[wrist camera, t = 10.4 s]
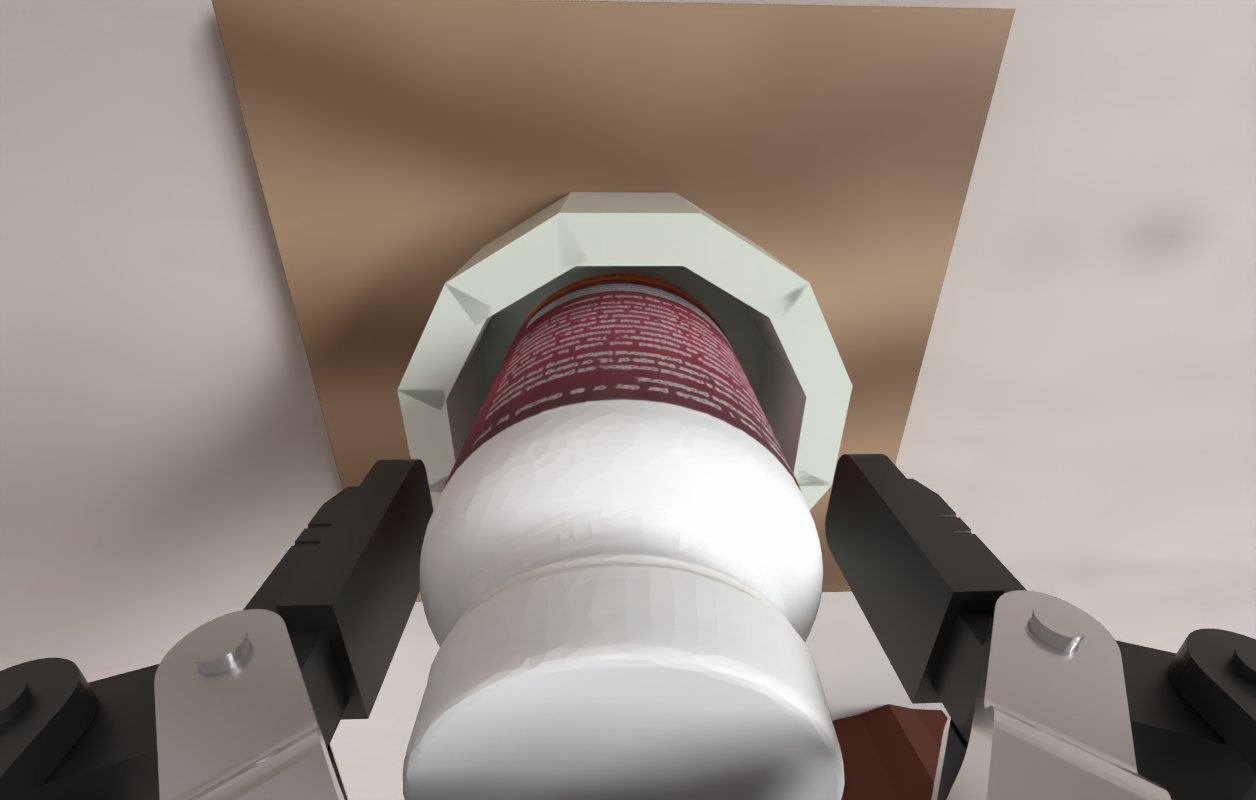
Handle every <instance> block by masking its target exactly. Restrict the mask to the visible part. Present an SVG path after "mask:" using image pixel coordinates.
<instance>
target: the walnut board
mask: <svg viewBox="0 0 1256 800" xmlns="http://www.w3.org/2000/svg"><path fill="white" fill-rule="evenodd" d="M212 4H213V7H214V11H215V15H216V18H217V22H218V26H219V30H220V33H221V37H222V41H223V44H224V48H225V52H226V56H227V59H228V63H229V67H230V70H231V74H232V78H233V82H234V85H235V89H236V93H237V96H238V100H239V104H240V108H241V111H242V115H243V119H244V123H245V126H246V130H247V134H248V137H249V141H250V145H251V149H252V152H253V156H254V160H255V163H256V167H257V171H258V175H259V178H260V182H261V186H262V189H263V193H264V197H265V201H266V204H267V208H268V212H269V215H270V219H271V223H272V227H273V230H274V234H275V238H276V242H277V245H278V249H279V253H280V256H281V260H282V264H283V268H284V271H285V275H286V279H287V282H288V286H289V290H290V294H291V297H292V301H293V305H294V308H295V312H296V316H297V320H298V323H299V327H300V331H301V334H302V338H303V342H304V346H305V349H306V353H307V357H308V361H309V364H310V368H311V372H312V375H313V379H314V383H315V387H316V390H317V394H318V398H319V401H320V405H321V409H322V413H323V416H324V420H325V424H326V427H327V431H328V435H329V439H330V442H331V446H332V450H333V453H334V457H335V461H336V465H337V468H338V472H339V476H340V480H341V483H342V487H343V490H344V489H345V488H347V487H359V485H360V484H361V483H362V481H363V480H364V478H365V477H366V475H367V474H368V473H369V471H370V470H371V468H372V467H373V465H374V464H375V463H376V462H377V461H378V460H393V459H411V457H410V452H409V447H408V442H407V437H406V432H405V427H404V422H403V417H402V412H401V407H400V402H399V396H398V391H397V389H398V387H399V385H400V383H401V381H402V378H403V376H404V374H405V372H406V369H407V367H408V365H409V363H410V361H411V358H412V356H413V354H414V352H415V349H416V347H417V345H418V343H419V340H420V338H421V336H422V334H423V331H424V329H425V327H426V325H427V323H428V320H429V318H430V316H431V314H432V311H433V309H434V307H435V305H436V302H437V300H438V298H439V296H440V294H441V291H442V289H443V287H444V285H445V283H446V282H447V281H448V280H449V279H450V278H451V277H452V276H453V275H454V274H455V273H456V272H457V271H458V270H459V269H461V268H462V267H463V266H464V265H465V264H466V263H467V262H468V261H469V260H470V259H471V258H472V257H473V256H474V255H475V254H476V253H477V252H479V251H480V250H481V249H482V248H483V247H484V246H485V245H487V244H489V243H490V242H492V241H493V240H495V239H497V238H498V237H500V236H501V235H503V234H505V233H506V232H508V231H509V230H511V229H513V228H514V227H516V226H517V225H519V224H521V223H522V222H524V221H525V220H527V219H529V218H530V217H532V216H534V215H535V214H537V213H538V212H540V211H542V210H543V209H545V208H546V207H548V206H550V205H551V204H553V203H554V202H556V201H558V200H559V199H561V198H562V197H564V196H566V195H567V194H569V193H570V192H638V193H677V194H678V195H680V196H682V197H683V198H685V199H686V200H688V201H689V202H691V203H693V204H694V205H696V206H697V207H699V208H700V209H702V210H704V211H705V212H707V213H708V214H710V215H711V216H713V217H714V218H716V219H718V220H719V221H721V222H722V223H724V224H725V225H727V226H729V227H730V228H732V229H733V230H735V231H736V232H738V233H739V234H741V235H743V236H744V237H746V238H747V239H749V240H750V241H752V242H754V243H755V244H757V245H758V246H760V247H761V248H763V249H764V250H766V251H767V252H768V253H770V254H771V255H772V256H774V257H775V258H777V259H778V260H779V261H781V262H782V263H783V264H785V265H786V266H788V267H789V268H790V269H792V270H793V271H794V272H796V273H797V274H798V275H800V276H801V277H803V278H804V279H805V280H807V281H808V282H809V283H810V285H811V288H812V290H813V293H814V295H815V297H816V300H817V302H818V305H819V307H820V309H821V312H822V314H823V316H824V319H825V321H826V324H827V326H828V328H829V331H830V333H831V336H832V338H833V340H834V343H835V345H836V348H837V350H838V352H839V355H840V357H841V360H842V362H843V364H844V367H845V369H846V371H847V374H848V376H849V379H850V381H851V383H852V385H853V386H852V391H851V396H850V401H849V405H848V410H847V415H846V420H845V425H844V429H843V434H842V439H841V444H840V449H839V453H838V458H837V462H838V460H839V458H840V457H841V456H842V455H843V454H884V455H886V456H887V457H888V458H889V459H890V460H891V461H892V462H893V463H894V465H895V463H896V459H897V455H898V451H899V448H900V444H901V440H902V436H903V432H904V429H905V425H906V421H907V417H908V413H909V410H910V406H911V402H912V398H913V395H914V391H915V387H916V383H917V379H918V376H919V372H920V368H921V364H922V361H923V357H924V353H925V349H926V345H927V342H928V338H929V334H930V330H931V326H932V323H933V319H934V315H935V311H936V308H937V304H938V300H939V296H940V292H941V289H942V285H943V281H944V277H945V274H946V270H947V266H948V262H949V258H950V255H951V251H952V247H953V243H954V239H955V236H956V232H957V228H958V224H959V221H960V217H961V213H962V209H963V205H964V202H965V198H966V194H967V190H968V186H969V183H970V179H971V175H972V171H973V168H974V164H975V160H976V156H977V152H978V149H979V145H980V141H981V137H982V134H983V130H984V126H985V122H986V118H987V115H988V111H989V107H990V103H991V99H992V96H993V92H994V88H995V84H996V81H997V77H998V73H999V69H1000V65H1001V62H1002V58H1003V54H1004V50H1005V47H1006V43H1007V39H1008V35H1009V31H1010V28H1011V24H1012V20H1013V16H1014V12H1015V9H995V8H940V7H885V6H830V5H775V4H721V3H666V2H611V1H556V0H212ZM836 466H837V463H836ZM835 470H836V468H835ZM834 475H835V473H834ZM833 480H834V477H833ZM832 485H833V482H832ZM831 490H832V486H831V487H830V488H829V489H828V490H827V491H826V493H825V494H824V495H823V496H822V497H821V498H820V499H819V501H818V502H817V503H816V504H815V505H814V506H813V507H812V508H811V510H810V513H811V516H812V518H813V520H814V523H815V527H816V530H817V534H818V537H819V541H820V547H821V553H822V562H823V582H822V592H843V591H851V589H850V587H849V585H848V583H847V581H846V579H845V578H844V576H843V574H842V572H841V570H840V568H839V566H838V565H837V563H836V561H835V559H834V557H833V555H832V554H831V552H830V549H829V547H828V544H827V540H826V534H825V519H826V513H827V509H828V504H829V499H830V494H831ZM433 511H434V510H433ZM415 602H422V598H421V591H419V594H418V596H417V599H416V601H415Z"/></svg>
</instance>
